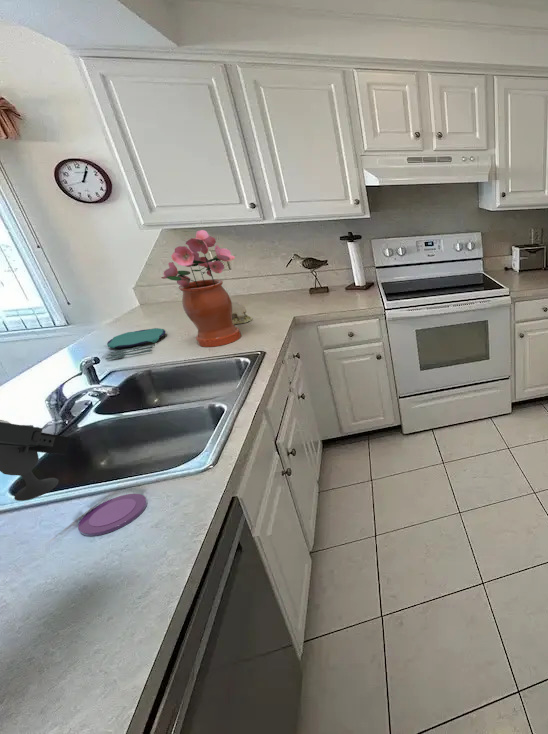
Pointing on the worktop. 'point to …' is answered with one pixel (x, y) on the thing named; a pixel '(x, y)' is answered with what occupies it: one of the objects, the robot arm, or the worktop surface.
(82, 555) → the worktop surface
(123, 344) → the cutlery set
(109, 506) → the plum plate
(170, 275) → the potted flower
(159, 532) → the worktop surface
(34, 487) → the sundae
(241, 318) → the ceramic model
